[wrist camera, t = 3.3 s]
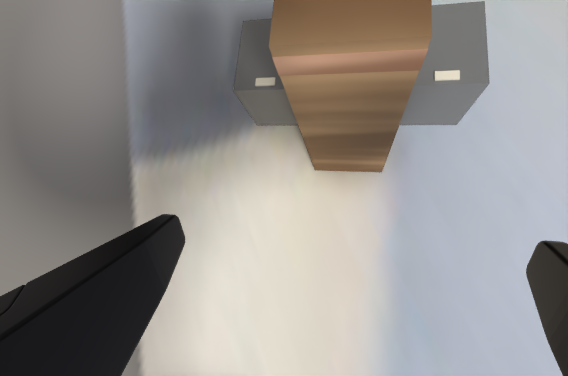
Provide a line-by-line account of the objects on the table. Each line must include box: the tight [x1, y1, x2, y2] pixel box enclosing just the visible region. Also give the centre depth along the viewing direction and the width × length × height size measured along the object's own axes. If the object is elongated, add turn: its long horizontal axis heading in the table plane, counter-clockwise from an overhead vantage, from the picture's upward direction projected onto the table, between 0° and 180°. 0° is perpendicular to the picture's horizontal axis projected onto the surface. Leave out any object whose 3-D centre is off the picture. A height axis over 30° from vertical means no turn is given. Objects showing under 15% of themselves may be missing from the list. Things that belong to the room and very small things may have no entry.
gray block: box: [233, 1, 489, 125], centre depth 20 cm, size 5×14×5 cm, turn 85°
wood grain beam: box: [269, 0, 432, 172], centre depth 15 cm, size 3×4×13 cm, turn 85°
